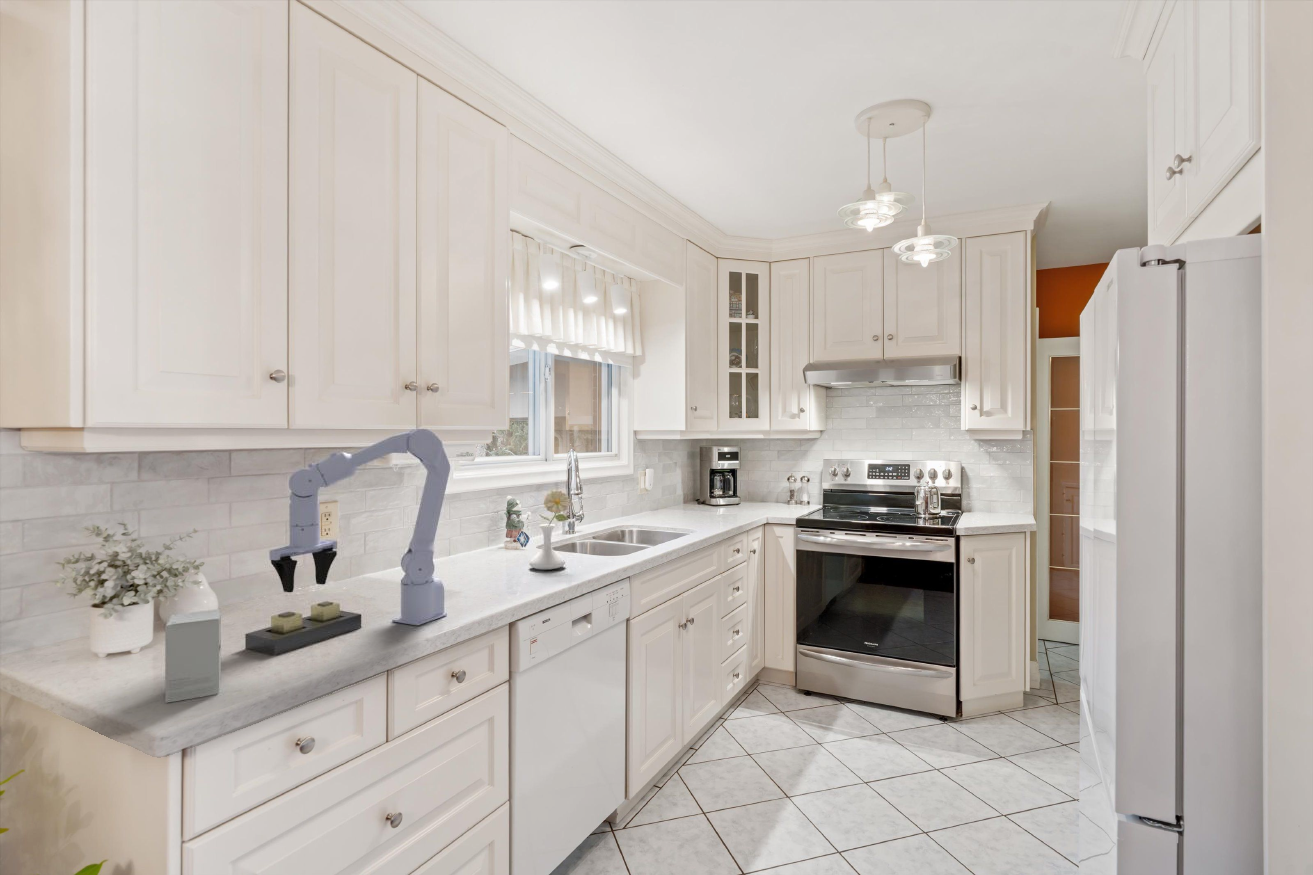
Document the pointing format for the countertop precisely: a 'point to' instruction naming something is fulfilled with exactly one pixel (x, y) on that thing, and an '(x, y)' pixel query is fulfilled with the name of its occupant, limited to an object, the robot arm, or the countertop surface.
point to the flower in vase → (547, 555)
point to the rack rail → (301, 634)
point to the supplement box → (192, 655)
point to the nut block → (286, 623)
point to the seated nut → (325, 611)
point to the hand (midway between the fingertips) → (305, 587)
